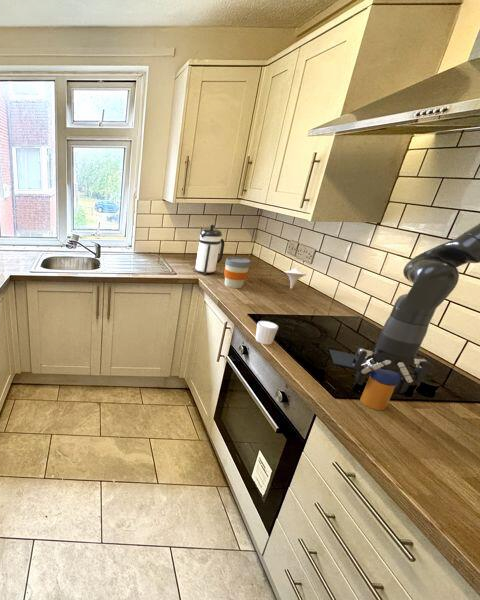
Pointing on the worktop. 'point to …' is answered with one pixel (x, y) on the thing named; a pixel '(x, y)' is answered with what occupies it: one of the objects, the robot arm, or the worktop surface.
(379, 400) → the jar
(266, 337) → the white cylinder
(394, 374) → the jar lid
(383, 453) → the worktop surface
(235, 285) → the reusable coffee cup
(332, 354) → the coaster
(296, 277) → the mushroom
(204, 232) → the coffee press
